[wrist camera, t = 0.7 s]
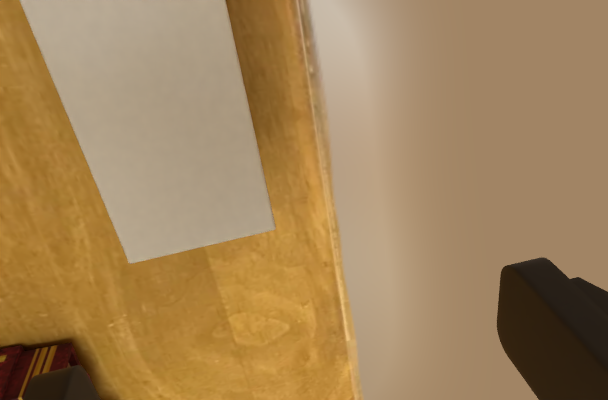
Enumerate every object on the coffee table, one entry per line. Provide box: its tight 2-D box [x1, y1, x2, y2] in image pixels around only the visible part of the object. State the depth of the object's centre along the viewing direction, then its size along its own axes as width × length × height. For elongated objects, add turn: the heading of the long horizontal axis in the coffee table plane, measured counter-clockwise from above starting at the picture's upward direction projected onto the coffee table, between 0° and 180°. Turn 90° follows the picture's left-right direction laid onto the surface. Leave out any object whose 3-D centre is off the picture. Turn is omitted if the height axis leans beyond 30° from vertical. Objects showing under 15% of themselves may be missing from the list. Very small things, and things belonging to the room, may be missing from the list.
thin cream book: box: [19, 0, 276, 264], centre depth 18 cm, size 11×6×2 cm, turn 9°
